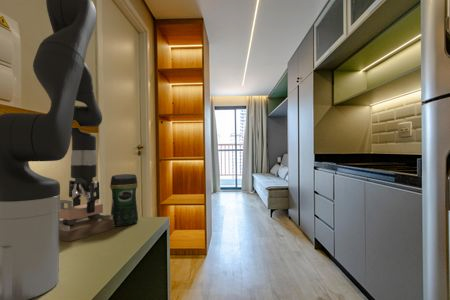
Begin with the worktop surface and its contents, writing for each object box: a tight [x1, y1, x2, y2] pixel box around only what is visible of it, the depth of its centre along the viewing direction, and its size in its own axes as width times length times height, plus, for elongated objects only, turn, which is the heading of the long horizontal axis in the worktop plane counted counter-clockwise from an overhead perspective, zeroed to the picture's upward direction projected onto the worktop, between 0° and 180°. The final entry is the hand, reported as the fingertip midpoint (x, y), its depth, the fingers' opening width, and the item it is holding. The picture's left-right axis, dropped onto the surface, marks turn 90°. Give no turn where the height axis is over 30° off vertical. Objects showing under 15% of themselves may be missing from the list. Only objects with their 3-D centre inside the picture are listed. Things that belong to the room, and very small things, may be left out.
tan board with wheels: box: [60, 199, 104, 226], centre depth 77 cm, size 11×6×8 cm, turn 151°
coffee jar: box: [109, 173, 139, 227], centre depth 86 cm, size 10×8×19 cm
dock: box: [59, 213, 115, 243], centre depth 77 cm, size 15×12×4 cm
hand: (83, 211), depth 77 cm, fingers open, 8 cm apart
